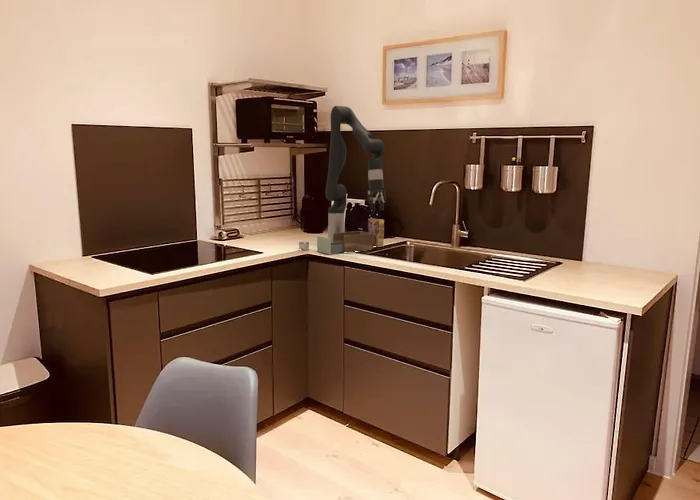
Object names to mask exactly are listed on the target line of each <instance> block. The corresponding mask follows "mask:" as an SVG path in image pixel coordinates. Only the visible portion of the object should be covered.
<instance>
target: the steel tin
mask: <svg viewBox="0 0 700 500" xmlns="http://www.w3.org/2000/svg"><path fill="white" fill-rule="evenodd" d="M299 249H301V250H302V252H303V251H304V252H307V251H310V241H299V242H298V250H299Z"/></svg>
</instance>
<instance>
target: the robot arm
mask: <svg viewBox="0 0 700 500" xmlns="http://www.w3.org/2000/svg"><path fill="white" fill-rule="evenodd" d="M341 125H348V126H349V127H350V128H351V130H352V135H353V136H354V137H355V139H356V140H358V142H359V143H360V145H361V147H362V149H363V151H365V153H367V154H373V157H371V158H369V159H368V161H367V170H368V175H367V177H368V179H367V180H368V188H369V189H370V190H367V191H366V197H367V198H366V199H367V200H366V201H367V202H366V203H367V204H368V203H369V205H370V212H376V201H378V203H379V211H384V210H385V205H384V203H385V202H387V195H386V189H383V188H384V173H383V163H382V162H383V156H384V152H385V144H384V142H383V140H381V139H373V135H372V133H371V131H369V130H368V129H367V128H366V127H365V126H364V125H363V124H362V123H361V122H360V120H359V118H358V117H357V116H356V114H355V112H354V111H353V109H352V108H351V107H349V106H343V105H342V106H341V105H334V106H333V107H332V108H331V111H330V143H329V145H330V146H329V156H328V157H329V158H328V169H327V178H326V184H325V197H326V199H327V200H328V201H329V202H333V204H332V205H331V206H329V207H328V208H327V209H328V210H327V212H328V213H327V214H328V215H327V216H328V220H327V221H328V225H327V238H330V239H331V243H333V233H341V232H346V227H345V225H346V224H345V223H346V218H345V215H346V213H345V212H346V209H347V199H348V197H347V194H348V192H347V187H346V186H345V185H344V184H342V183H339V182H338V181H339V176H340V173H341V171H342V170H343V168H344V165H345V164H346V160H347V146H346V143H345V141H344V139H343V137H342V133H341V132H342V131H341Z"/></svg>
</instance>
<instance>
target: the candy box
mask: <svg viewBox="0 0 700 500" xmlns="http://www.w3.org/2000/svg"><path fill="white" fill-rule="evenodd" d="M367 233H372V234H373V246H376V247H381V246H383V247H384V242H385V241H384V240H385V239H384V237H385V236H384V235H385V219H381V218H380V219H379V218H368V219H367Z"/></svg>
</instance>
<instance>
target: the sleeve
mask: <svg viewBox="0 0 700 500" xmlns="http://www.w3.org/2000/svg"><path fill="white" fill-rule="evenodd" d="M333 242H344V252H355V251H364V250H372V249H373V248H374V247H373V234H372V233H368V231H362V230H357V231H355V230H354V231H345V232H341V233H333ZM355 253H356V252H355Z"/></svg>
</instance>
